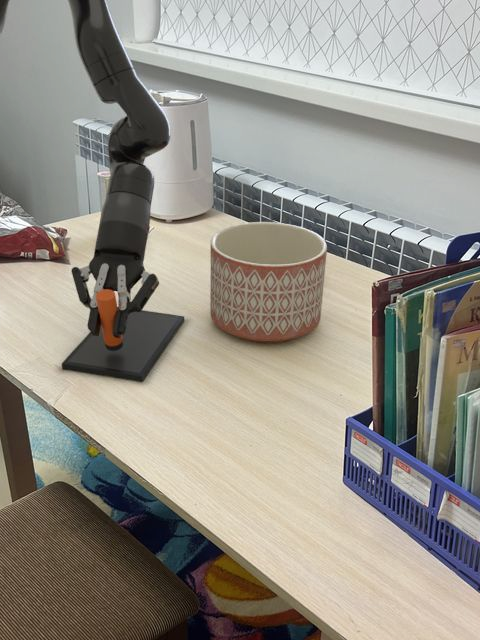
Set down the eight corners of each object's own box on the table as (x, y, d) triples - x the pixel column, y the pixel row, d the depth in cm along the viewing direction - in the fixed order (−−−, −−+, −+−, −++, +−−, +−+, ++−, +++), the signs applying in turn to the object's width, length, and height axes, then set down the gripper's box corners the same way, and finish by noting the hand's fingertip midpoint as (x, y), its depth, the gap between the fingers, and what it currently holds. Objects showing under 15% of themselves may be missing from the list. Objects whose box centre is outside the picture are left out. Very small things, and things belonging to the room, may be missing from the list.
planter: (194, 306, 125) (193, 229, 118) (289, 290, 132) (293, 216, 125) (236, 358, 110) (238, 273, 103) (339, 336, 118) (349, 256, 110)
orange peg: (102, 349, 107) (92, 299, 100) (109, 337, 109) (100, 287, 102) (119, 352, 107) (110, 302, 100) (126, 340, 109) (117, 290, 102)
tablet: (62, 369, 106) (61, 363, 105) (114, 311, 122) (113, 305, 122) (142, 382, 103) (142, 376, 103) (184, 321, 120) (184, 316, 120)
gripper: (72, 214, 104) (51, 324, 100) (163, 222, 103) (146, 332, 99) (87, 235, 111) (68, 338, 107) (172, 242, 110) (156, 346, 106)
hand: (105, 335), depth 103 cm, fingers closed on orange peg, 2 cm apart
